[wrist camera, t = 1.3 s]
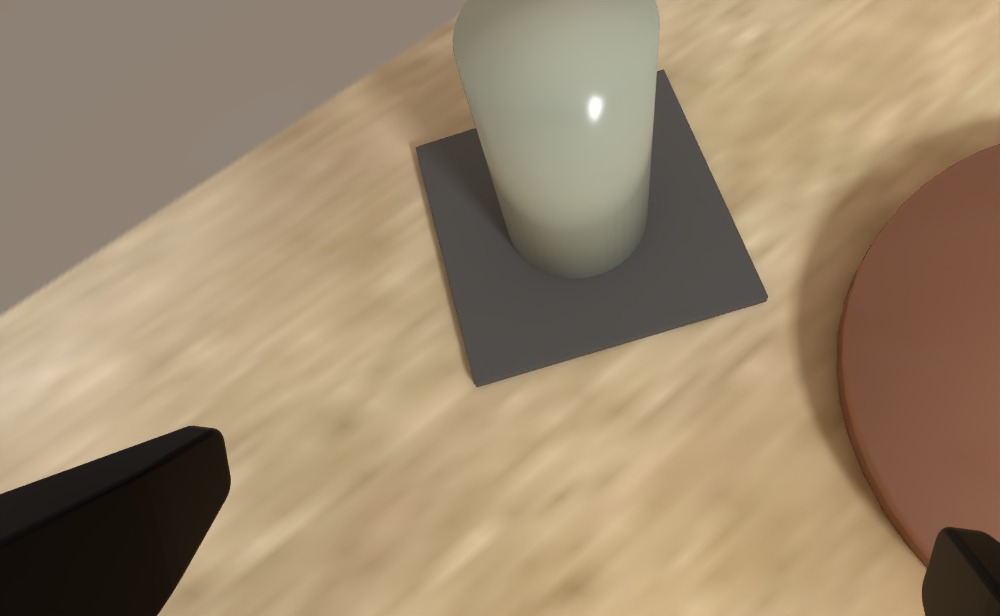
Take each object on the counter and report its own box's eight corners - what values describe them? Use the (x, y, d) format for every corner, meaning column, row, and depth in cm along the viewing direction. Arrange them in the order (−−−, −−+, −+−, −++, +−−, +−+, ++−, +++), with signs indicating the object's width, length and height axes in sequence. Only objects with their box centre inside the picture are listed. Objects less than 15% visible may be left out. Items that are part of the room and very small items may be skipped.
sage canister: (527, 296, 24) (479, 139, 16) (492, 179, 26) (434, -11, 18) (667, 254, 24) (690, 73, 16) (621, 139, 26) (620, -72, 18)
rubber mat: (476, 386, 24) (474, 383, 23) (418, 153, 28) (415, 147, 28) (765, 301, 23) (767, 296, 23) (663, 76, 28) (663, 69, 27)
